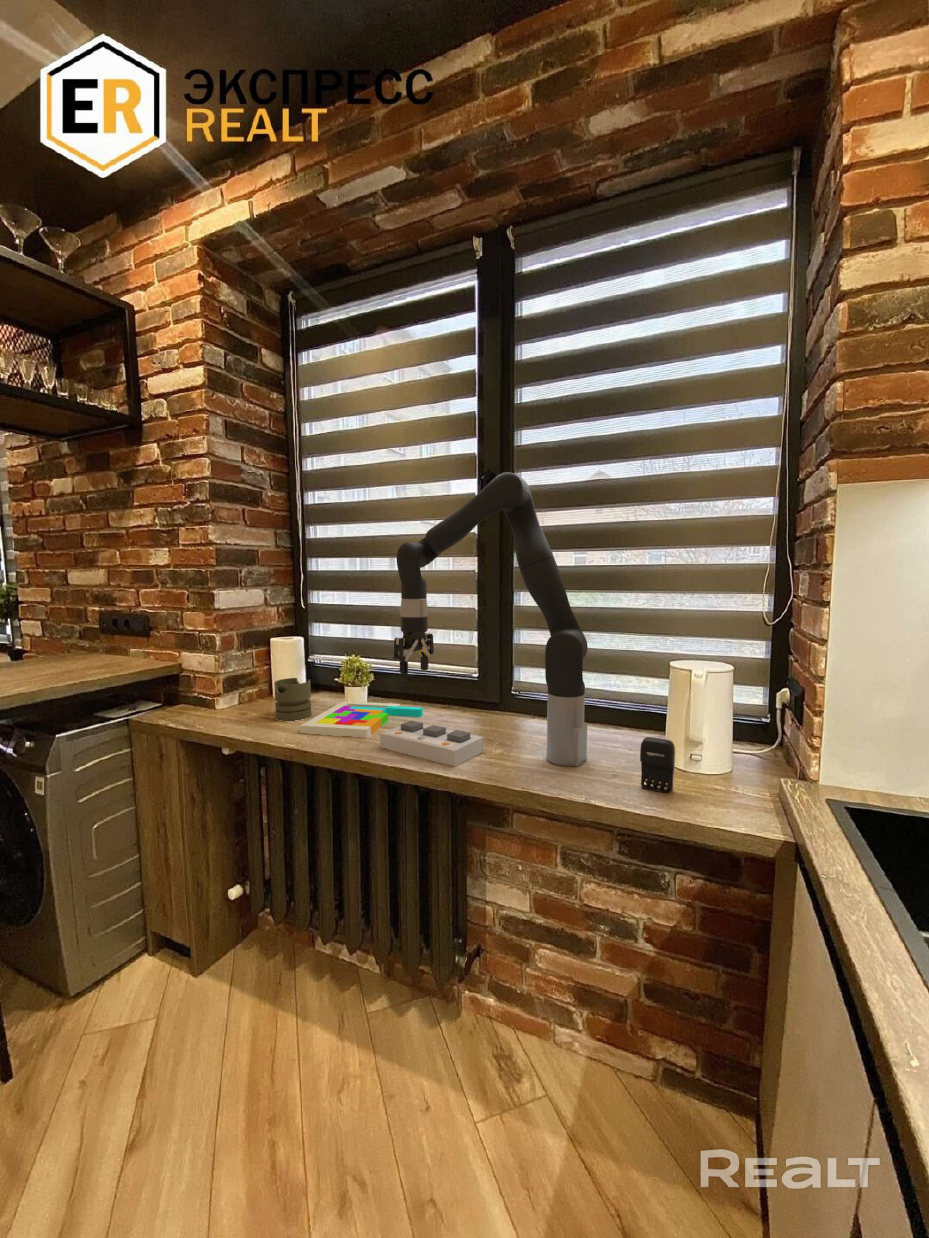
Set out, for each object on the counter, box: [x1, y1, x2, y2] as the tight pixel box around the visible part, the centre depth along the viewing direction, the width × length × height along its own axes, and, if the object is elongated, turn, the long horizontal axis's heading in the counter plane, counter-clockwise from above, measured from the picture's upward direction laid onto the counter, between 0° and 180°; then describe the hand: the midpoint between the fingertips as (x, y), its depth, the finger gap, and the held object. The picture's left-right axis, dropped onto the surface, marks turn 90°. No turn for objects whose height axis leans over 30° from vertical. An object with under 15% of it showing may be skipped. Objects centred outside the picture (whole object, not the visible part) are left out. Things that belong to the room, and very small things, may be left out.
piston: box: [273, 677, 312, 722], centre depth 173 cm, size 11×12×11 cm
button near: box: [447, 729, 471, 743], centre depth 137 cm, size 4×4×3 cm
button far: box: [400, 720, 424, 732], centre depth 146 cm, size 4×4×3 cm
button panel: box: [379, 724, 484, 767], centre depth 141 cm, size 25×13×4 cm, turn 56°
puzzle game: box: [299, 700, 424, 739], centre depth 167 cm, size 30×3×30 cm
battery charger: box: [639, 735, 676, 794], centre depth 114 cm, size 7×4×11 cm, turn 58°
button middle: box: [423, 724, 447, 738], centre depth 142 cm, size 4×4×3 cm
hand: (414, 672), depth 147 cm, fingers open, 8 cm apart
